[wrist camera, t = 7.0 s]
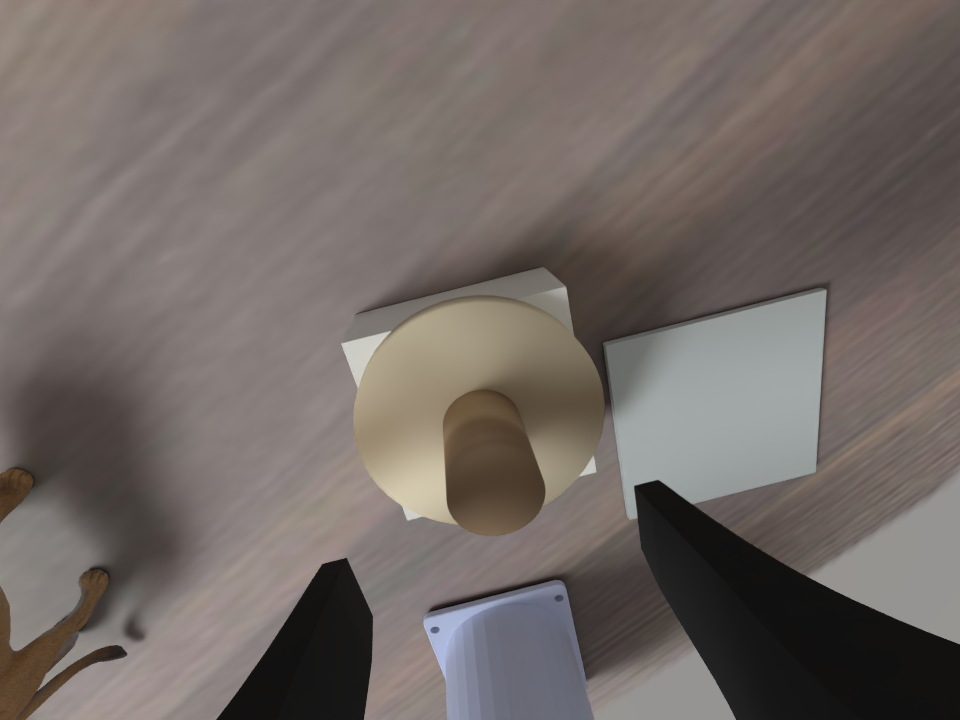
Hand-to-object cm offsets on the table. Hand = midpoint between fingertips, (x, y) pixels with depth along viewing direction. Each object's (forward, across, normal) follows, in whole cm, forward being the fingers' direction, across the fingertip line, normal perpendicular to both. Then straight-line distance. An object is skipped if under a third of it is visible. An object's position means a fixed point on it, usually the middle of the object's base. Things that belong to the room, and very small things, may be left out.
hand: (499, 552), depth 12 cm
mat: (+10, -11, +5) cm, 16 cm away
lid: (+7, 0, 0) cm, 7 cm away
